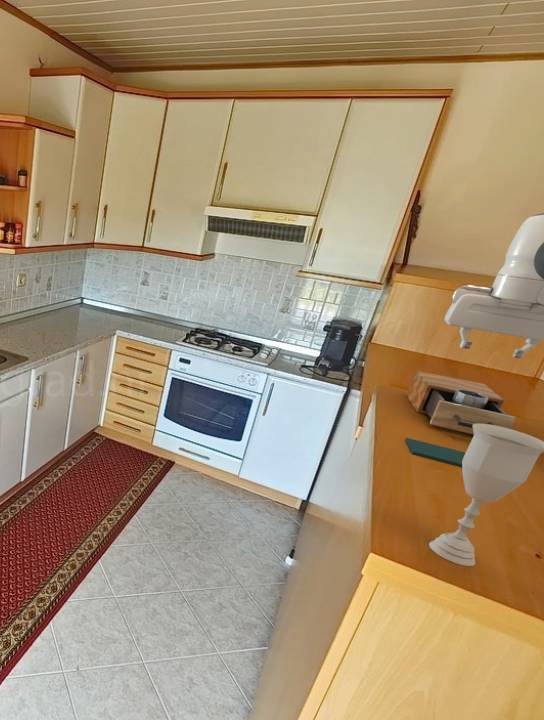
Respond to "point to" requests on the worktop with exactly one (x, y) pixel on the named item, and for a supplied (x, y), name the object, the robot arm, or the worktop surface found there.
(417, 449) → the mat
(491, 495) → the chalice
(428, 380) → the wooden drawer cabinet
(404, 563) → the worktop surface
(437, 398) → the wooden drawer box
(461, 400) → the gray faceted container
